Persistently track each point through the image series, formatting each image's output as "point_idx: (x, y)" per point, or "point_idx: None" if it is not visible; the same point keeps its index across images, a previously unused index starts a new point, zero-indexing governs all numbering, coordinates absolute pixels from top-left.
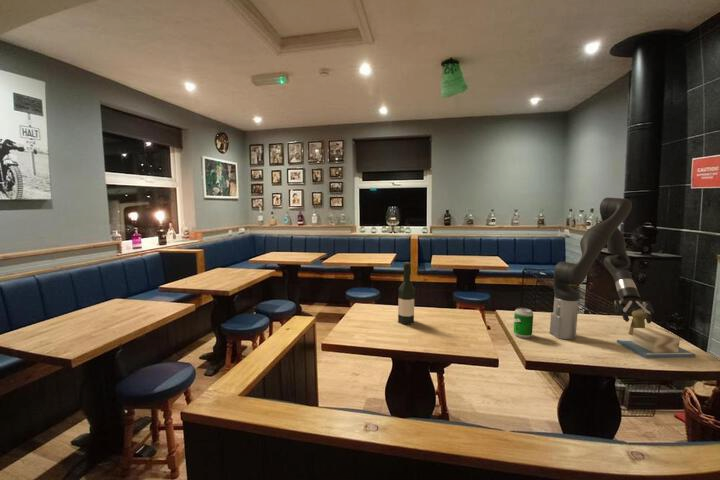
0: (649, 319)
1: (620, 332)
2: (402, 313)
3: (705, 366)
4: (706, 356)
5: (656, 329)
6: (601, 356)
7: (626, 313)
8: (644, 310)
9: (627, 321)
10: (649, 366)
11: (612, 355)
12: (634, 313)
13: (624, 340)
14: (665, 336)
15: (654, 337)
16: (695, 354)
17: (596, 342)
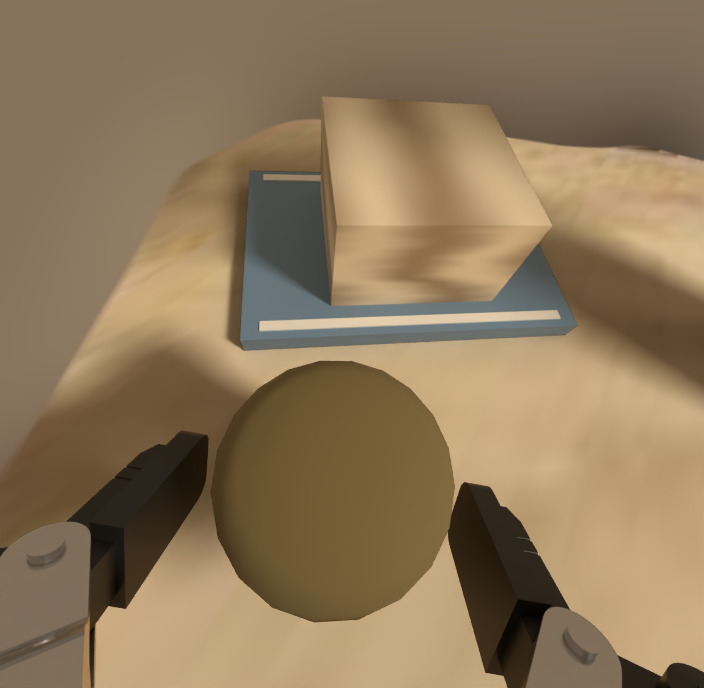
0: (187, 446)
1: (447, 552)
2: None
3: (296, 133)
4: (178, 190)
5: (370, 199)
6: (673, 206)
7: (522, 577)
8: (79, 621)
9: (458, 514)
10: (518, 145)
11: (627, 211)
12: (447, 446)
13: (534, 314)
14: (406, 113)
15: (489, 109)
16: (250, 171)
17: (680, 336)
